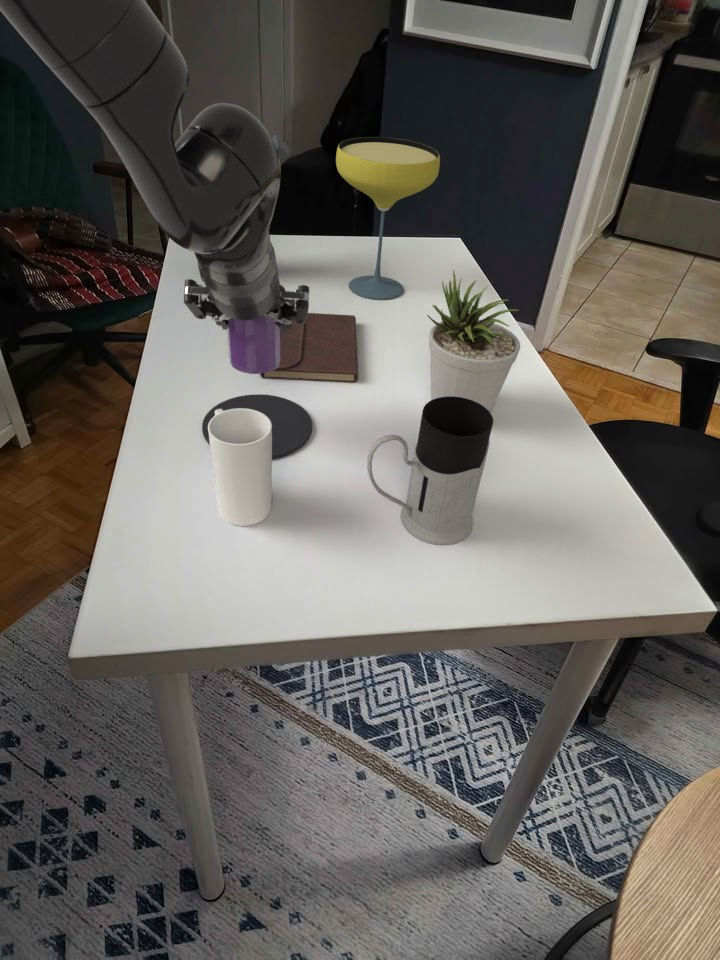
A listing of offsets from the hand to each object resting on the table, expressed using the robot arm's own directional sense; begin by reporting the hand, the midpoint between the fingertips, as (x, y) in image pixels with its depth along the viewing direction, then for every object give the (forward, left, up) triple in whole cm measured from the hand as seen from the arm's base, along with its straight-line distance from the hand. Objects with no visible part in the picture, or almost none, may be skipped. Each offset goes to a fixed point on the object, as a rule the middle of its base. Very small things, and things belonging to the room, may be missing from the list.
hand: (255, 323), depth 81 cm
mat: (-1, -2, -15) cm, 15 cm away
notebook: (+13, +17, -15) cm, 27 cm away
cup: (0, -2, -4) cm, 5 cm away
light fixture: (+10, +50, -15) cm, 54 cm away
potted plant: (+29, -5, -15) cm, 33 cm away
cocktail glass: (+33, +37, -15) cm, 52 cm away
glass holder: (+12, -26, -15) cm, 32 cm away
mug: (-7, -16, -15) cm, 23 cm away
